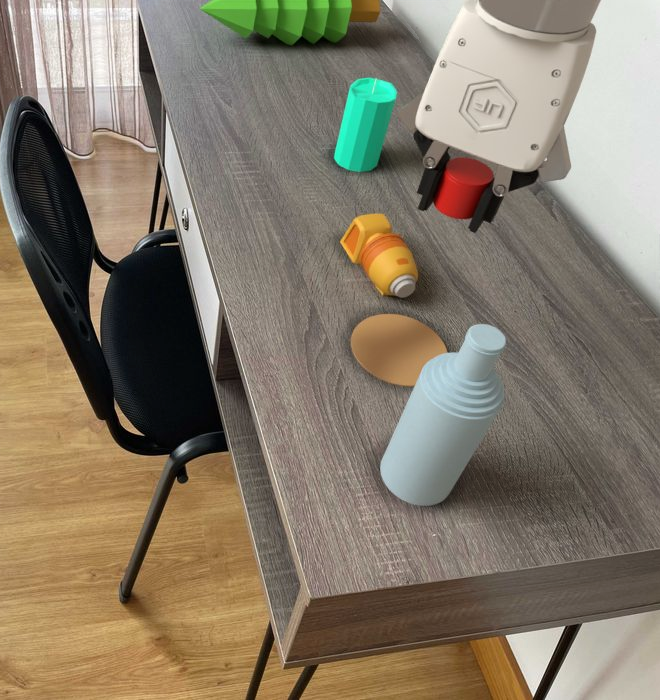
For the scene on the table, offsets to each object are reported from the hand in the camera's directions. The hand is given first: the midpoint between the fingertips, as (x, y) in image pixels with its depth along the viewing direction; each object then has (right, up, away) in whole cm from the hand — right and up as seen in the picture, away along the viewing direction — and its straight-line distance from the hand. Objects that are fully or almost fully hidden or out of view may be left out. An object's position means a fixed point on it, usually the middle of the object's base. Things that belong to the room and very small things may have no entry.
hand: (452, 211), depth 63 cm
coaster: (-1, -12, +13) cm, 18 cm away
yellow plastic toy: (-1, -3, +21) cm, 22 cm away
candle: (0, +14, +37) cm, 39 cm away
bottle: (-2, -23, +3) cm, 24 cm away
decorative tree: (-7, +40, +60) cm, 72 cm away
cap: (0, +1, 0) cm, 1 cm away
